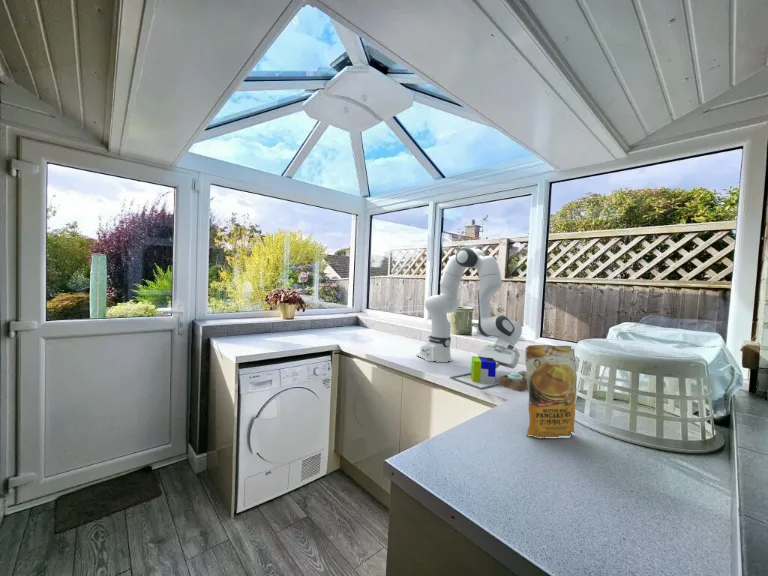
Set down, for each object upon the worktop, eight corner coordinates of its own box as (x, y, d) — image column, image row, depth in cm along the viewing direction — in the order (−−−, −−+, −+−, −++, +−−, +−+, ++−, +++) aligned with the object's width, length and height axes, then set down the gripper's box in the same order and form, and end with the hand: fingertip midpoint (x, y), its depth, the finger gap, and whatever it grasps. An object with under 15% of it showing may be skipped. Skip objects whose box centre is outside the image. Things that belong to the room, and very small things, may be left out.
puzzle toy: (494, 384, 150) (496, 362, 150) (472, 381, 152) (474, 361, 152) (491, 377, 160) (492, 358, 160) (470, 375, 162) (472, 356, 162)
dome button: (504, 378, 149) (505, 372, 149) (512, 376, 153) (512, 370, 153) (517, 382, 144) (517, 376, 144) (525, 380, 148) (525, 374, 147)
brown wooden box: (499, 384, 150) (499, 372, 149) (518, 379, 159) (519, 368, 159) (518, 391, 142) (519, 378, 141) (538, 385, 151) (538, 373, 151)
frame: (449, 378, 156) (449, 376, 156) (471, 373, 166) (471, 372, 166) (481, 389, 141) (481, 388, 141) (503, 384, 151) (503, 382, 151)
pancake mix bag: (514, 429, 103) (519, 343, 103) (568, 428, 106) (573, 344, 105) (526, 440, 97) (532, 347, 96) (583, 438, 99) (589, 348, 99)
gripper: (483, 340, 172) (470, 360, 166) (518, 348, 155) (506, 370, 150) (488, 348, 174) (475, 368, 169) (523, 356, 158) (511, 378, 152)
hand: (490, 369), depth 159 cm, fingers closed, pressing on puzzle toy
